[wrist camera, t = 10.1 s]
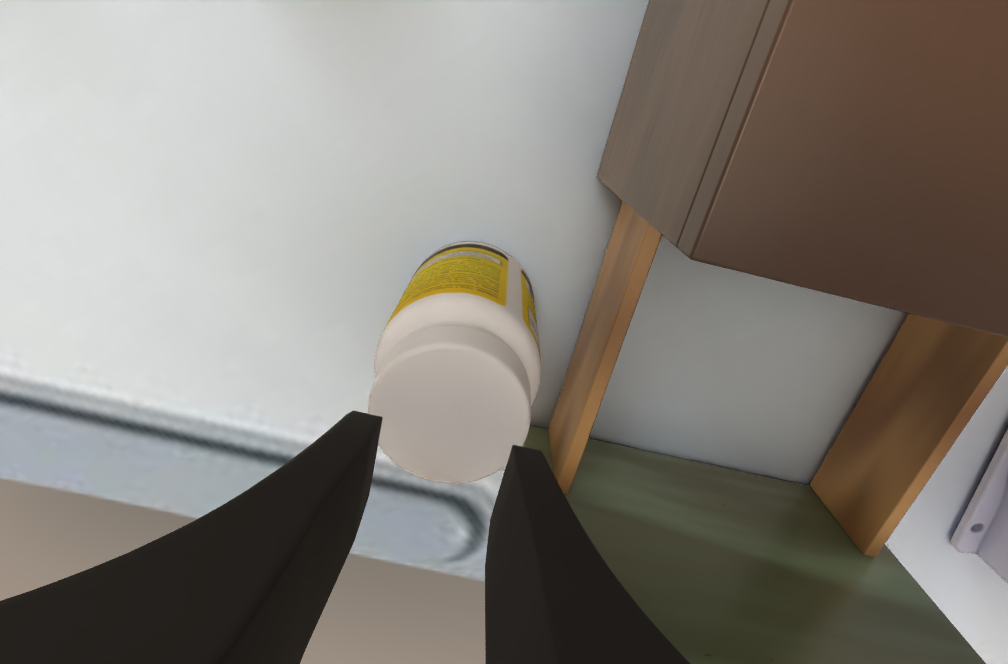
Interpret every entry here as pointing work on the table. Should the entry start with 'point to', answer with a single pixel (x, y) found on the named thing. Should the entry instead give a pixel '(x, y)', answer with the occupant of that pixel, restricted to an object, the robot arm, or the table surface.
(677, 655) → the robot arm
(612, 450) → the drawer
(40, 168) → the table surface
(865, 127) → the cabinet
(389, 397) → the supplement bottle
